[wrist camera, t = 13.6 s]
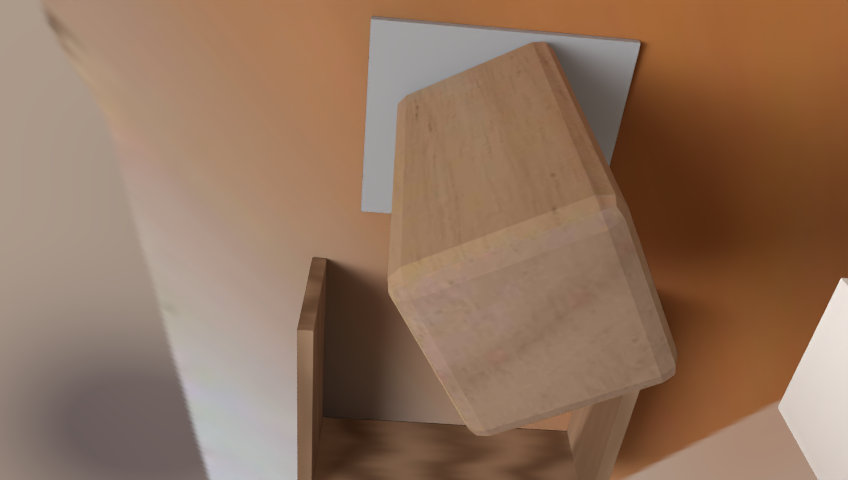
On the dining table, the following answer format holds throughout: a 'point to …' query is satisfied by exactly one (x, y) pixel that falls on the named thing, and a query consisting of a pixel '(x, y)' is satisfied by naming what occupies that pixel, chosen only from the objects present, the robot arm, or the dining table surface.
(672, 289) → the dining table surface
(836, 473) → the robot arm
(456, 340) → the block
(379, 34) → the mat
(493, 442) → the bracket
